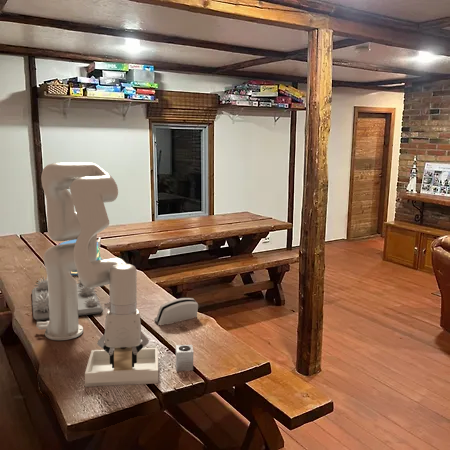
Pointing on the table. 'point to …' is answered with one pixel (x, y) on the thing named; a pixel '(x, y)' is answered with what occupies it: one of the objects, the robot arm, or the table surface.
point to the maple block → (122, 358)
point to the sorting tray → (106, 376)
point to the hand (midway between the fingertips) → (123, 364)
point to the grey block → (184, 357)
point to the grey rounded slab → (177, 311)
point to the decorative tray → (86, 301)
